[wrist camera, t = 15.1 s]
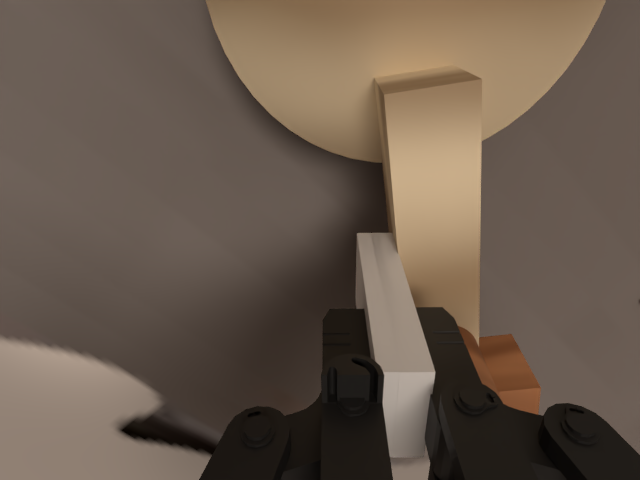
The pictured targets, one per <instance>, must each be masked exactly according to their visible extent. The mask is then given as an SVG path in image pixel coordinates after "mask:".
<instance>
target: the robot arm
mask: <svg viewBox="0 0 640 480" xmlns="http://www.w3.org/2000/svg"><path fill="white" fill-rule="evenodd" d="M355 300H356V309H330V310H329V311H328V313H327V315H326V316H325V318H324V319H323V371H322V374H321V385H322V391H321V393H320V395H319V397H318V399H317V400H316V401H315V402H314V403H313V404H312V405H311V406H309V407H308V408H306V409H304V410H302V411H299V412H297V413H293V414H290V415H287V416H284V415H283V414H282V413H281V412H280V411H278V410H276V409H273V408H271V407H259V406H257V407H254V408H250V409H246V410H244V411H243V412H241V413H240V414H238V415H237V416H235V417H234V419H233V420H232V421H231V422H230V424H229V425H228V427H227V429H226V430H225V432H224V434H223V436H222V438H221V440H220V442H219V444H218V445H217V447H216V449H215V451H214V453H213V455H212V457H211V459H210V460H209V462H208V464H207V466H206V468H205V470H204V472H203V474H202V476H201V478H200V479H199V480H393V477H392V470H391V462H390V457H424V452H425V445H426V446H427V451H428V455H429V459H430V470H429V476H428V480H640V455H639V454H638V453H637V452H636V451H635V450H634V449H633V448H632V447H631V446H630V445H629V444H628V443H627V442H626V441H625V440H624V439H623V438H622V437H621V436H620V435H619V434H618V433H617V432H616V431H615V430H614V429H613V428H612V427H611V426H610V425H609V424H608V423H607V422H606V421H605V420H604V419H602V418H601V417H600V416H598V415H597V414H596V413H594V412H592V411H590V410H588V409H586V408H584V407H582V406H578V405H574V404H569V403H563V404H555V405H553V406H551V407H549V408H548V409H547V410H546V412H545V414H544V416H541V415H537V414H533V413H529V412H525V411H521V410H518V409H515V408H512V407H509V406H507V405H505V404H503V402H502V401H501V399H500V398H499V396H498V395H497V394H496V392H494V391H493V390H492V389H490V388H489V387H488V386H486V385H484V384H482V382H481V380H480V378H479V375H478V373H477V370H476V368H475V366H474V363H473V361H472V359H471V356H470V354H469V352H468V349H467V347H466V344H464V340H463V337H462V335H461V333H460V330H459V328H458V326H457V323H456V321H455V319H454V317H453V316H452V315H450V314H449V313H448V312H447V311H446V310H445V309H444V308H443V307H415V304H414V301H413V298H412V295H411V291H410V288H409V285H408V282H407V278H406V275H405V272H404V269H403V266H402V262H401V259H400V256H399V254H398V252H397V248H396V245H395V241H394V237H393V234H392V233H357V251H356V293H355Z"/></svg>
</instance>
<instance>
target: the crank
mask: <svg viewBox="0 0 640 480" xmlns="http://www.w3.org/2000/svg"><path fill="white" fill-rule="evenodd" d="M605 1H606V0H206V3H207V6H208V10H209V13H210V16H211V20H212V23H213V26H214V29H215V31H216V33H217V36H218V38H219V40H220V43H221V45H222V47H223V49H224V52H225V54H226V56H227V57H228V59H229V61H230V62H231V64H232V66H233V68H234V69H235V71H236V73H237V75H238V76H239V78H240V79H241V80H242V82H243V83H244V84H245V86H246V87H247V88H248V90H249V91H250V92H251V94H252V95H253V96H254V98H255V99H256V100H257V101H258V102H259V103H260V104H261V105H262V106H263V107H264V108H265V109H266V110H267V111H268V112H269V113H270V114H271V115H272V116H273V117H274V118H275V119H277V120H278V121H279V122H280V123H282V124H283V125H284V126H285V127H286V128H288V129H289V130H290V131H292V132H293V133H295V134H297V135H298V136H300V137H301V138H303V139H305V140H306V141H308V142H310V143H312V144H314V145H316V146H318V147H320V148H323V149H325V150H327V151H329V152H332V153H335V154H339V155H342V156H345V157H348V158H351V159H357V160H363V161H369V162H377V163H382V165H383V176H384V186H385V197H386V207H387V218H388V228H389V233H392V234H393V237H394V241H395V245H396V248H397V252H398V254H399V256H400V259H401V262H402V266H403V269H404V272H405V275H406V278H407V282H408V285H409V288H410V291H411V295H412V298H413V301H414V304H415V307H443V308H444V309H445V310H446V311H447V312H448V313H449V314H450V315H452V316H453V317H454V319H455V321H456V323H457V326H458V328H459V330H460V333H461V335H462V337H463V340H464V344H466V347H467V349H468V352H469V354H470V356H471V359H472V361H473V363H474V366H475V368H476V370H477V373H478V375H479V378H480V380H481V382H482V384H484V385H486V386H488V387H489V388H490V389H492V390H493V391H494V392H496V394H497V395H498V396H499V398H500V399H501V401H502V402H503V404H505V405H507V406H509V407H512V408H515V409H518V410H521V411H525V412H529V413H533V414H537V415H538V410H539V400H540V391H541V387H540V385H539V384H538V382H537V380H536V378H535V376H534V374H533V373H532V371H531V369H530V367H529V365H528V363H527V362H526V360H525V358H524V356H523V354H522V353H521V351H520V349H519V347H518V345H517V343H516V342H515V340H514V338H513V336H512V334H508V335H498V336H489V337H479V297H480V215H481V141H483V140H485V139H487V138H488V137H490V136H492V135H493V134H495V133H496V132H498V131H500V130H501V129H503V128H505V127H506V126H508V125H509V124H510V123H512V122H513V121H514V120H516V119H517V118H518V117H519V116H521V115H522V114H523V113H525V112H526V111H527V110H529V109H530V108H531V107H532V106H533V105H534V104H535V103H536V102H537V101H538V100H539V99H540V98H541V97H542V96H543V95H544V94H545V93H546V92H547V91H548V90H549V89H550V88H551V87H552V86H553V84H554V83H555V82H556V81H557V80H558V79H559V77H560V76H561V75H562V74H563V73H564V72H565V70H566V69H567V68H568V66H569V65H570V63H571V62H572V61H573V59H574V58H575V56H576V55H577V53H578V52H579V50H580V49H581V47H582V46H583V45H584V43H585V41H586V39H587V37H588V36H589V34H590V32H591V30H592V28H593V26H594V25H595V23H596V21H597V19H598V17H599V15H600V13H601V10H602V8H603V6H604V3H605Z"/></svg>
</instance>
